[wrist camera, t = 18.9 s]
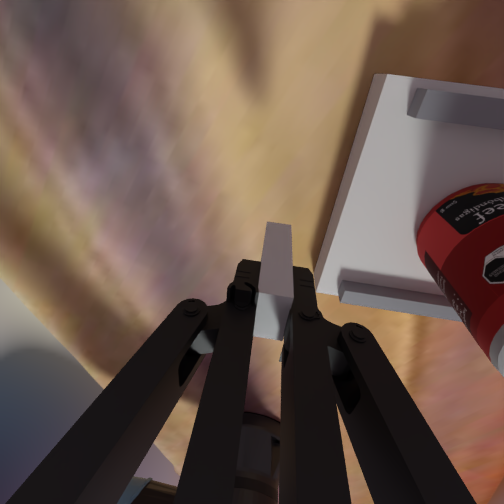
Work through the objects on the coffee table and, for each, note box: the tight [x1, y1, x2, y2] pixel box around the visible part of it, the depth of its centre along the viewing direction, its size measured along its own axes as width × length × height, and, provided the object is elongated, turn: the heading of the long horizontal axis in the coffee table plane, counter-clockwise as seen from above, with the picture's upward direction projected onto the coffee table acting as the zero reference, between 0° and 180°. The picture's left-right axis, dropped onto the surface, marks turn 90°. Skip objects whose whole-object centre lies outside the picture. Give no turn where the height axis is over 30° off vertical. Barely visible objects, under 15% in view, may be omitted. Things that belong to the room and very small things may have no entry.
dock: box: [314, 74, 504, 322], centre depth 20 cm, size 18×18×9 cm
